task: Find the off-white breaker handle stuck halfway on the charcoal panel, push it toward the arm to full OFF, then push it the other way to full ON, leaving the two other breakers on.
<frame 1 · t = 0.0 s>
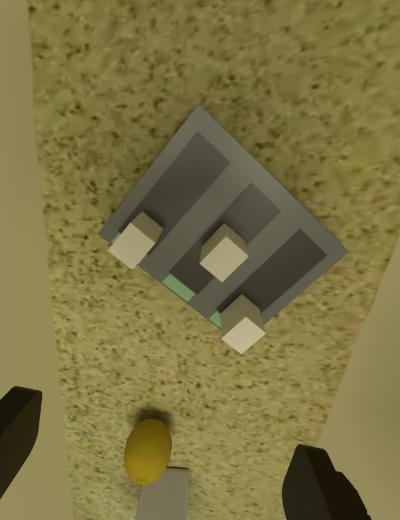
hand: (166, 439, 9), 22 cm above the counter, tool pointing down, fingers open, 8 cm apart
soap bottle: (170, 484, 45), on the counter
breaker 2: (241, 322, 27), point 5 cm above the counter, slide at 8.0 cm
breaker tripped: (223, 251, 25), point 5 cm above the counter, slide at 4.0 cm
breaker panel: (221, 233, 30), on the counter
breaker 1: (137, 239, 25), point 5 cm above the counter, slide at 8.0 cm
lemon: (155, 419, 40), on the counter
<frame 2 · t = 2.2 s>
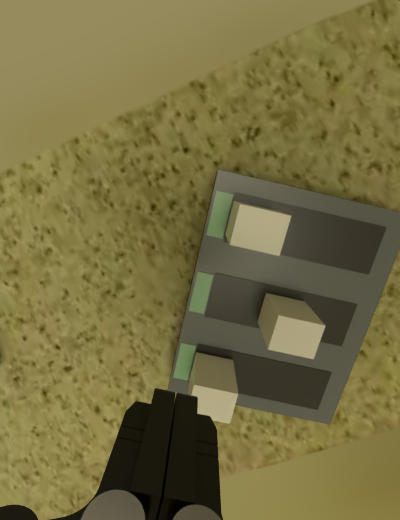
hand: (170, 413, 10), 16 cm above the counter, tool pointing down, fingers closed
breaker 2: (211, 385, 22), point 5 cm above the counter, slide at 8.0 cm
breaker tripped: (287, 323, 21), point 5 cm above the counter, slide at 4.0 cm
breaker panel: (271, 296, 26), on the counter
breaker 1: (254, 226, 19), point 5 cm above the counter, slide at 8.0 cm
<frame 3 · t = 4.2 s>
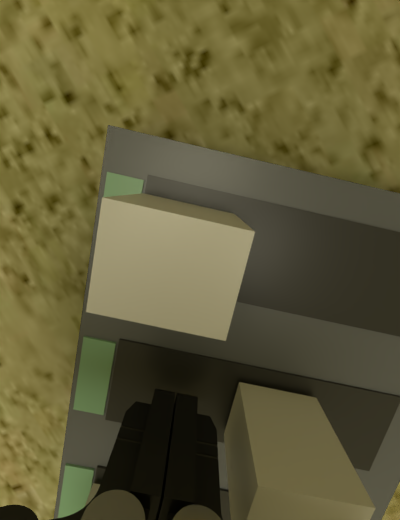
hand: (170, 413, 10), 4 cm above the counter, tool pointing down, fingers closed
breaker tripped: (282, 462, 10), point 5 cm above the counter, slide at 3.3 cm, touching gripper
breaker panel: (241, 363, 15), on the counter
breaker 1: (176, 252, 8), point 5 cm above the counter, slide at 8.0 cm
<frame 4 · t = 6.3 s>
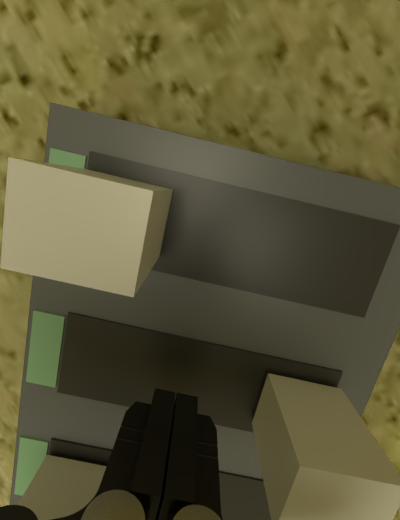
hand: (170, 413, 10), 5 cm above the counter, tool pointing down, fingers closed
breaker tripped: (313, 448, 10), point 5 cm above the counter, slide at -0.1 cm
breaker panel: (198, 343, 15), on the counter
breaker 1: (104, 220, 8), point 5 cm above the counter, slide at 8.0 cm
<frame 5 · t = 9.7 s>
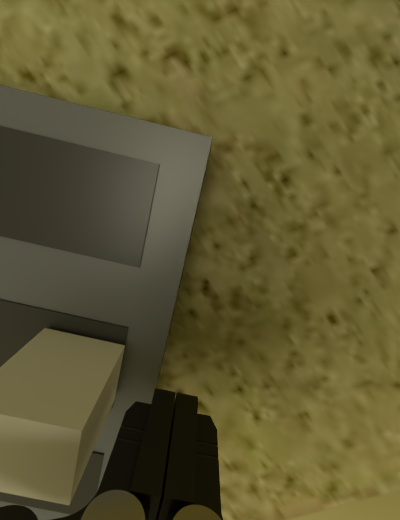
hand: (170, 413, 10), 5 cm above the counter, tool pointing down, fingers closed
breaker tripped: (55, 401, 9), point 5 cm above the counter, slide at 0.0 cm, touching gripper
breaker panel: (25, 307, 14), on the counter
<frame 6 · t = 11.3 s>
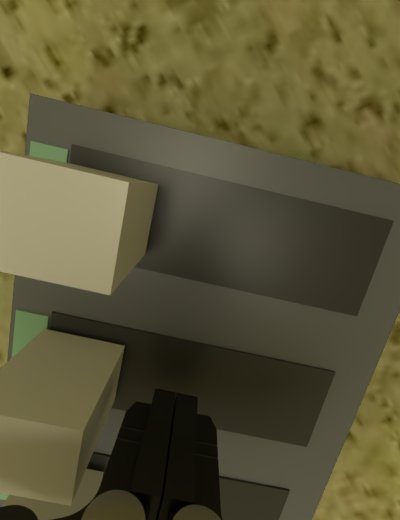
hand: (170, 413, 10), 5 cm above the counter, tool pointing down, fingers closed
breaker tripped: (55, 402, 9), point 5 cm above the counter, slide at 8.1 cm, touching gripper
breaker panel: (189, 343, 15), on the counter
breaker 1: (84, 215, 8), point 5 cm above the counter, slide at 8.0 cm
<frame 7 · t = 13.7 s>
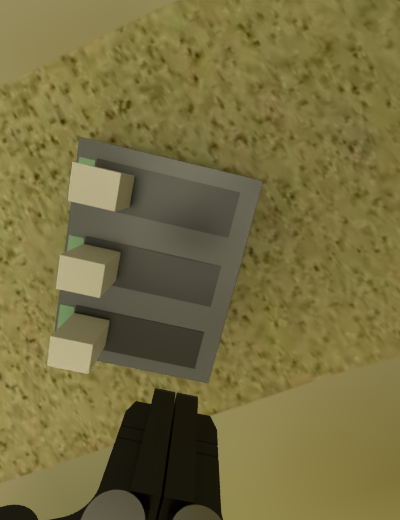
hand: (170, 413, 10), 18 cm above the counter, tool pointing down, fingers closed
breaker 2: (80, 341, 23), point 5 cm above the counter, slide at 8.0 cm
breaker tripped: (90, 268, 22), point 5 cm above the counter, slide at 8.1 cm
breaker panel: (155, 263, 27), on the counter
breaker 1: (104, 187, 21), point 5 cm above the counter, slide at 8.0 cm
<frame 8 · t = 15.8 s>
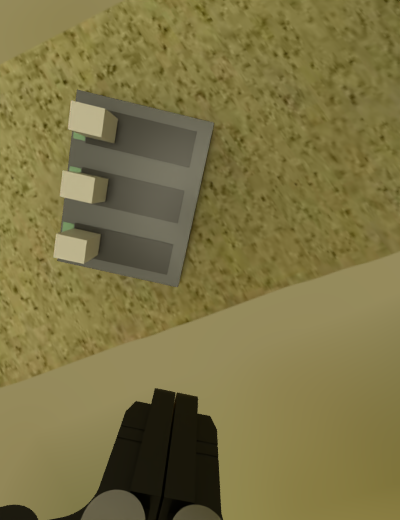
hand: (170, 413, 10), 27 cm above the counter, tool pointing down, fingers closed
breaker 2: (78, 245, 31), point 5 cm above the counter, slide at 8.0 cm
breaker tripped: (85, 187, 30), point 5 cm above the counter, slide at 8.1 cm
breaker panel: (137, 195, 35), on the counter
breaker 1: (94, 123, 28), point 5 cm above the counter, slide at 8.0 cm
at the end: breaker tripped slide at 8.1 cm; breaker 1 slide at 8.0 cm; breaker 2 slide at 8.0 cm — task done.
